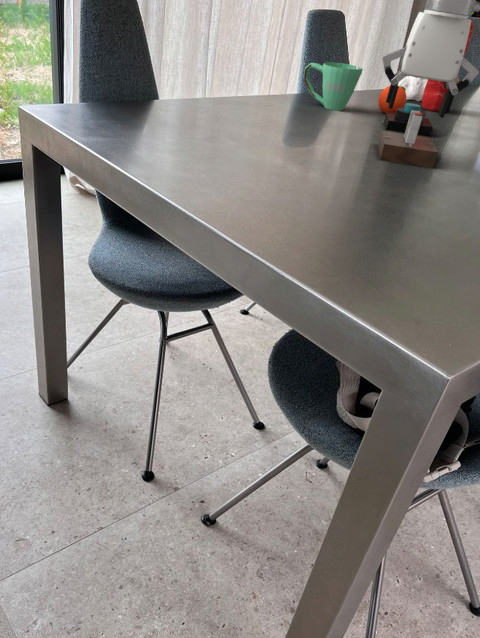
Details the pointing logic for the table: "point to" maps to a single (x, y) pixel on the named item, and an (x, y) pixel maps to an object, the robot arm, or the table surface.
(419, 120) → the silver flat panel
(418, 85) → the bust
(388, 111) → the clementine
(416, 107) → the button
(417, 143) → the block
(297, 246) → the table surface
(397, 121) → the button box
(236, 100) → the table surface
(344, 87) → the mug
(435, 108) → the red bag
